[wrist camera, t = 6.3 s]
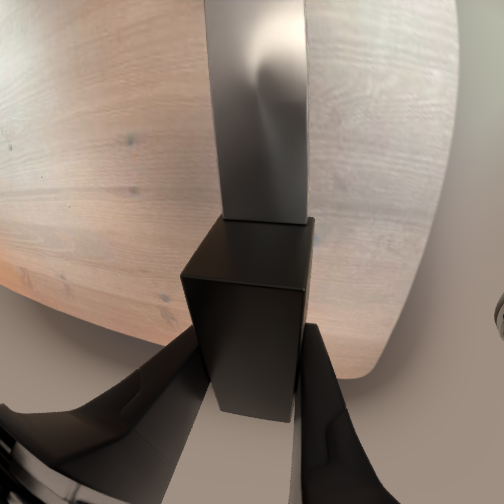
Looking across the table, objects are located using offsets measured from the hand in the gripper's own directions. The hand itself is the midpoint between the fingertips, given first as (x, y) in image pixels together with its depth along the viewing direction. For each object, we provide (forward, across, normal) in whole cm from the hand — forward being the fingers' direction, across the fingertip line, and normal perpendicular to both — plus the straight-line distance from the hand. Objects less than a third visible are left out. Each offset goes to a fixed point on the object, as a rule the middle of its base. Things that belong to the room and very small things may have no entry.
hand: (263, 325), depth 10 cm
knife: (+1, 0, -4) cm, 4 cm away
